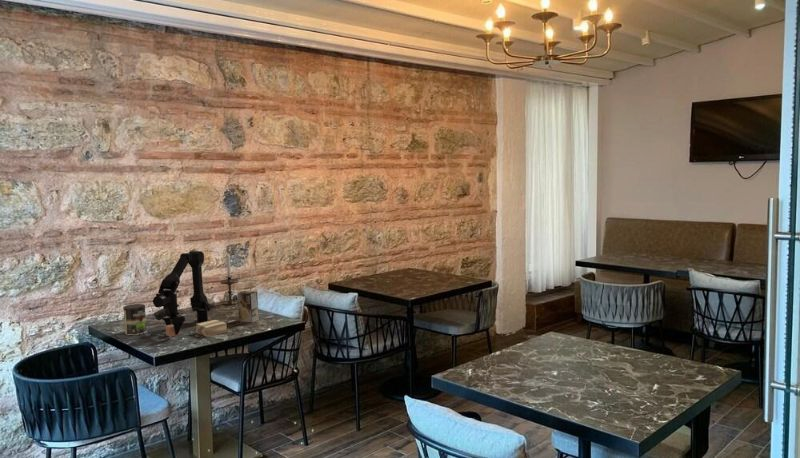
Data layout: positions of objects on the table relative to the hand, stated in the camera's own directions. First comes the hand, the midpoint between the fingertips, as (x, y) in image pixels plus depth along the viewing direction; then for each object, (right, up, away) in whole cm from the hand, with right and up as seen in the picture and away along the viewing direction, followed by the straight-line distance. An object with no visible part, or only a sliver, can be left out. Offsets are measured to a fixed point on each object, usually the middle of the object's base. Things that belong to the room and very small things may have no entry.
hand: (172, 332), depth 293 cm
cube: (0, -1, 0) cm, 1 cm away
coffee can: (-21, -1, +5) cm, 22 cm away
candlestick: (+9, +6, +67) cm, 68 cm away
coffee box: (+32, +2, +26) cm, 41 cm away
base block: (+18, -1, +4) cm, 19 cm away
